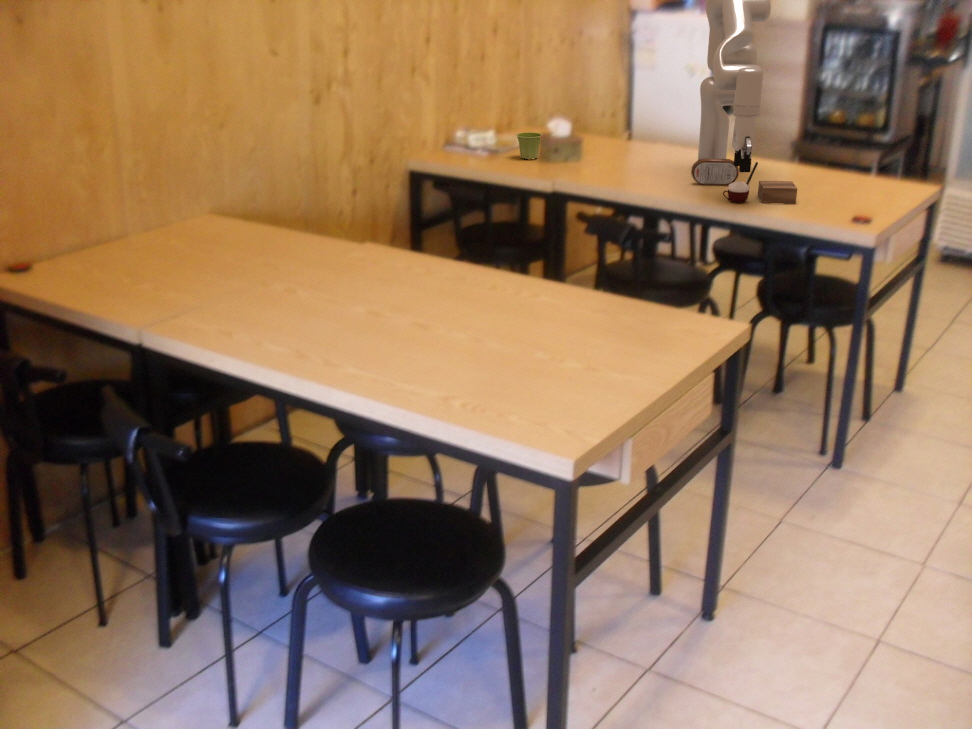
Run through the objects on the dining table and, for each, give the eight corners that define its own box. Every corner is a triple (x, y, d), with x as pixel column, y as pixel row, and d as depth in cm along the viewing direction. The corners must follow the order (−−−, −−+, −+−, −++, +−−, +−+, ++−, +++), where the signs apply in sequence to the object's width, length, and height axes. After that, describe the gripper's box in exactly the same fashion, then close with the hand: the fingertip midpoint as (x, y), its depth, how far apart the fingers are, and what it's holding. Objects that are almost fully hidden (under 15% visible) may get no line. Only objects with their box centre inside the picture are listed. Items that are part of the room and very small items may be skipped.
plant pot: (545, 160, 374) (545, 136, 371) (520, 161, 372) (520, 137, 368) (537, 155, 382) (537, 131, 379) (512, 156, 380) (513, 133, 377)
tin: (737, 184, 338) (739, 158, 334) (738, 186, 335) (740, 160, 332) (690, 183, 339) (692, 157, 336) (691, 185, 336) (693, 159, 333)
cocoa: (721, 203, 315) (722, 164, 310) (726, 198, 320) (728, 159, 315) (752, 205, 311) (754, 166, 306) (757, 200, 316) (759, 161, 311)
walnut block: (757, 196, 323) (759, 180, 321) (790, 197, 322) (792, 181, 320) (761, 204, 314) (763, 187, 312) (795, 204, 313) (797, 188, 311)
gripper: (729, 107, 313) (724, 163, 319) (738, 115, 297) (733, 174, 303) (754, 107, 313) (749, 163, 319) (765, 115, 297) (759, 174, 303)
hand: (741, 169), depth 311 cm, fingers open, 9 cm apart
